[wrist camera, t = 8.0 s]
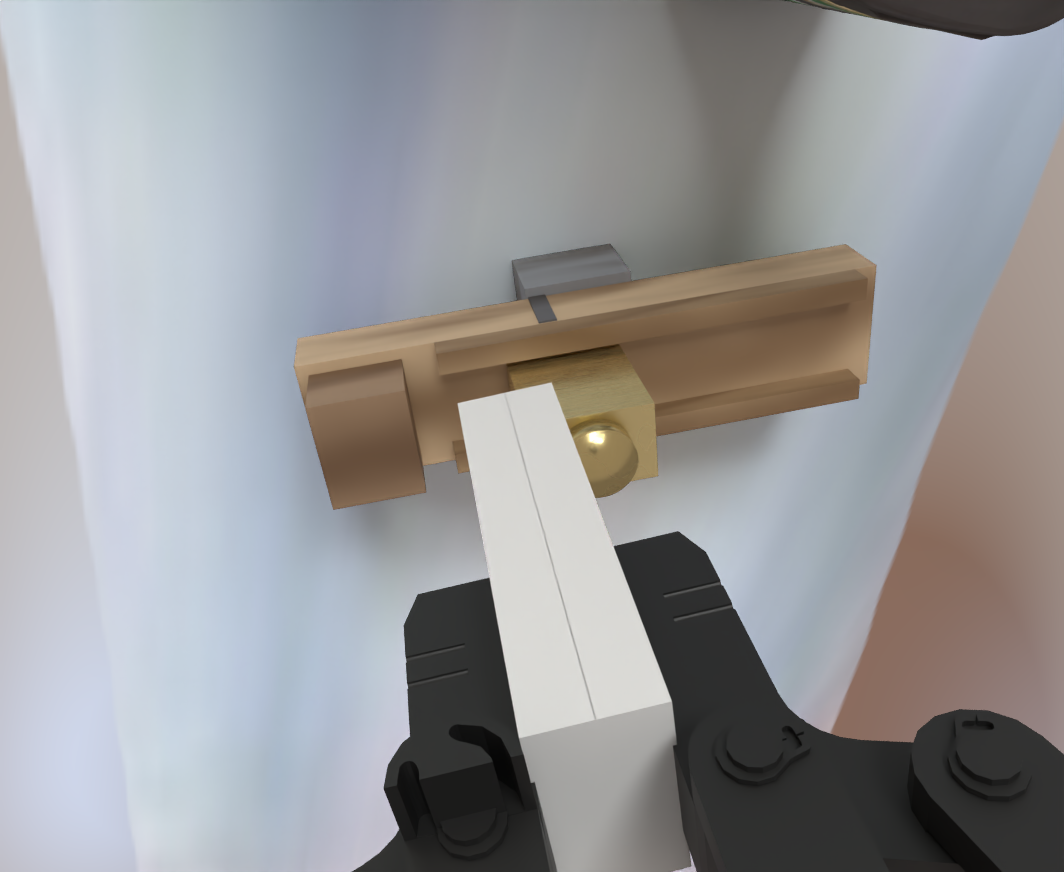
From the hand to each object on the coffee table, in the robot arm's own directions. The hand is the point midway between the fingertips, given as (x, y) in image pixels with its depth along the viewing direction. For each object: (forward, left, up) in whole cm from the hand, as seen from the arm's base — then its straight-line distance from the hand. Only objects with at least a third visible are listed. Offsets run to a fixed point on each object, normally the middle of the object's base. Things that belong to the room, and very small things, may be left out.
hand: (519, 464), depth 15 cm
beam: (+11, +6, -31) cm, 33 cm away
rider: (+11, +4, -24) cm, 26 cm away
